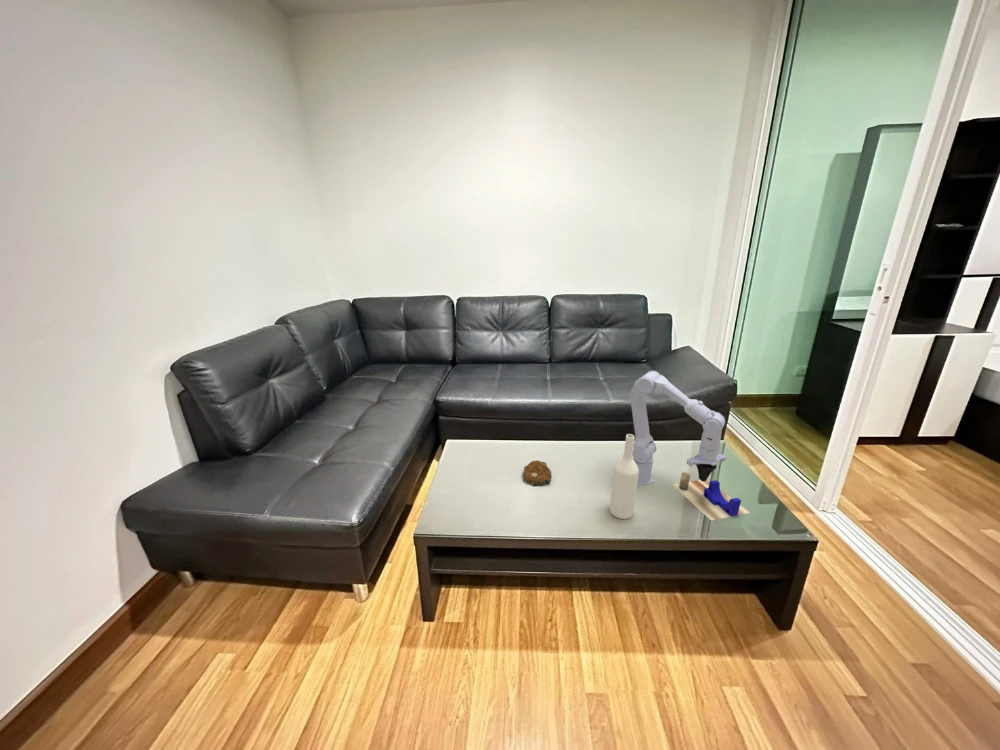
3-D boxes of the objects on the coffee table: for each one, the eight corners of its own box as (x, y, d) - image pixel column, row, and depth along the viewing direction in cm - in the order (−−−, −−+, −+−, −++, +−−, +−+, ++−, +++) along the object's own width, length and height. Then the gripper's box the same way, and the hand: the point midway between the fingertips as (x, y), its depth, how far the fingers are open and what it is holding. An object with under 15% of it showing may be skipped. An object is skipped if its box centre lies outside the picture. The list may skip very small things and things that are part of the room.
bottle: (621, 501, 143) (630, 428, 133) (638, 514, 136) (648, 438, 126) (604, 508, 140) (612, 433, 130) (620, 522, 133) (630, 444, 123)
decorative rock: (522, 466, 166) (524, 489, 152) (521, 458, 165) (524, 480, 151) (549, 465, 166) (554, 487, 152) (548, 456, 165) (554, 478, 151)
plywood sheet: (711, 521, 133) (711, 520, 133) (671, 485, 152) (671, 484, 152) (749, 513, 137) (750, 512, 137) (706, 479, 156) (706, 478, 156)
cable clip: (703, 495, 146) (706, 481, 144) (714, 493, 147) (717, 480, 145) (726, 516, 135) (729, 502, 133) (737, 515, 136) (741, 500, 134)
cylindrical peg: (682, 490, 148) (685, 477, 146) (677, 486, 151) (679, 473, 149) (689, 489, 149) (691, 476, 147) (684, 485, 152) (686, 471, 150)
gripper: (699, 455, 131) (692, 489, 136) (735, 450, 134) (727, 483, 139) (685, 444, 138) (679, 477, 142) (720, 440, 141) (713, 472, 145)
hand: (702, 479), depth 141 cm, fingers closed
